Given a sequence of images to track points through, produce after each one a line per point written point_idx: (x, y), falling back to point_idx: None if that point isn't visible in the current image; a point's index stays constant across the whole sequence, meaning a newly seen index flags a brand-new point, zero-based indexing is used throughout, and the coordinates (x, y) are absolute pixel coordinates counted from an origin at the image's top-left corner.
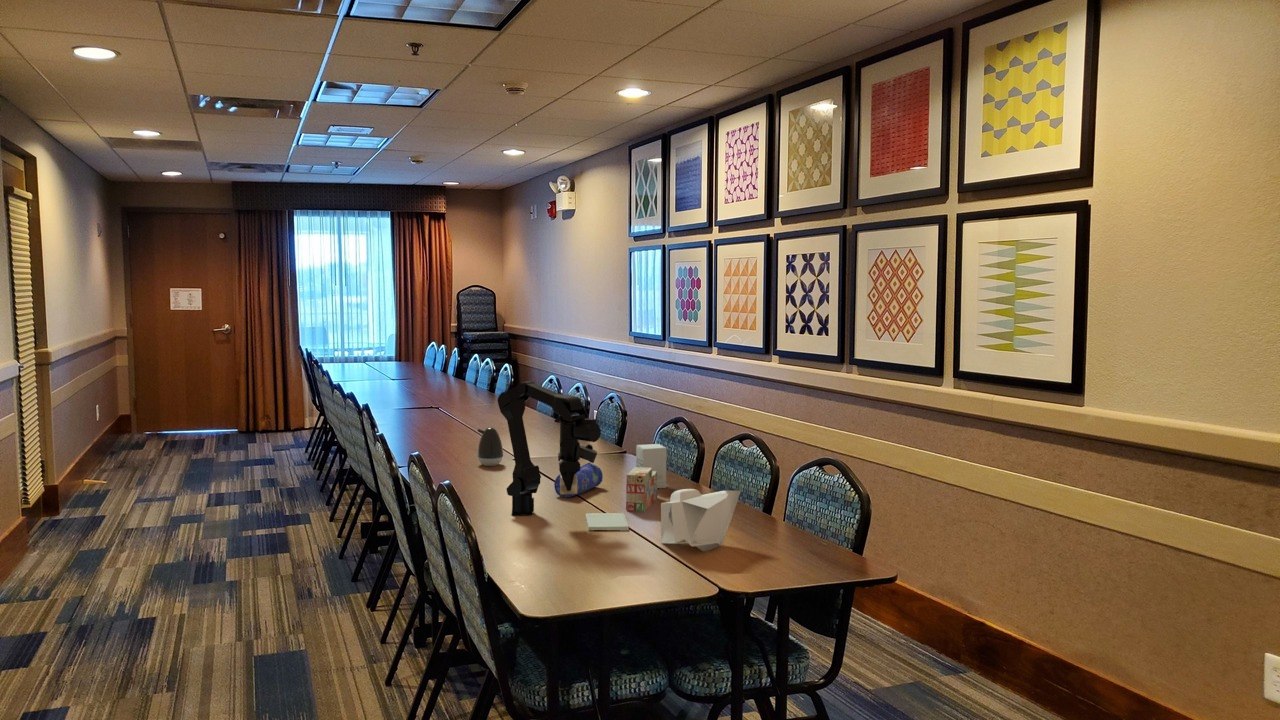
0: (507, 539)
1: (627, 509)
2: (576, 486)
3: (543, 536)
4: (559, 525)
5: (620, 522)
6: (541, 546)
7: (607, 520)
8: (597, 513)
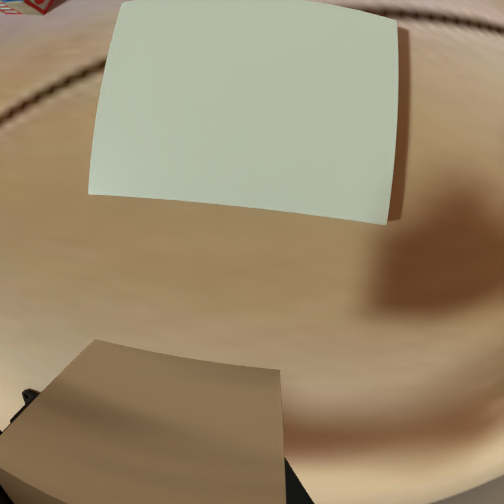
0: (382, 491)
1: (43, 8)
2: (282, 439)
3: (397, 416)
4: (241, 350)
5: (316, 30)
6: (488, 409)
7: (260, 85)
8: (96, 127)
